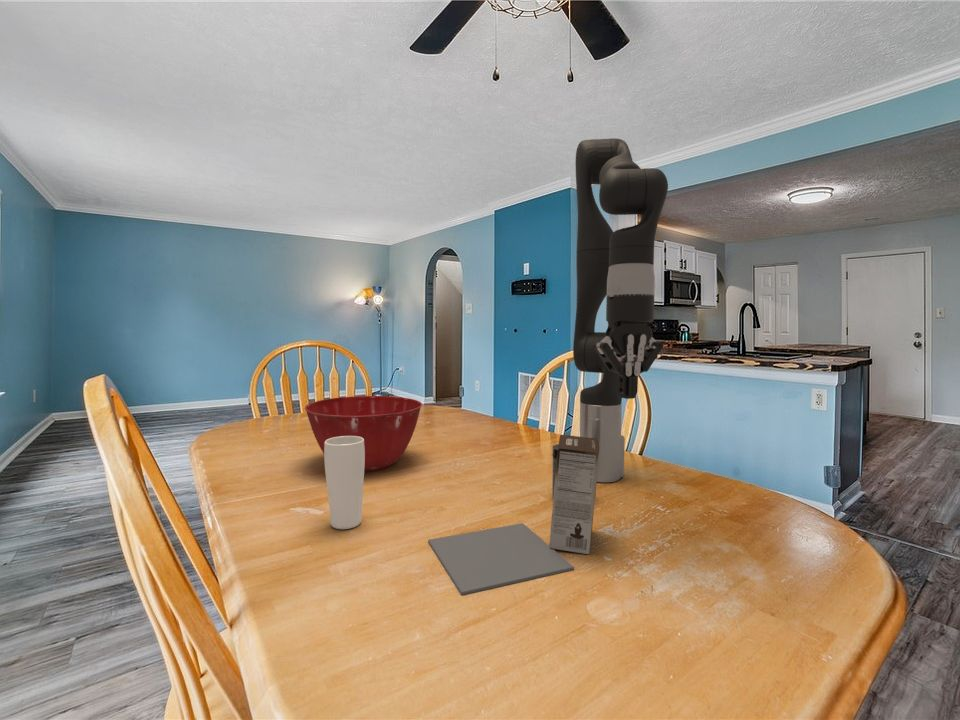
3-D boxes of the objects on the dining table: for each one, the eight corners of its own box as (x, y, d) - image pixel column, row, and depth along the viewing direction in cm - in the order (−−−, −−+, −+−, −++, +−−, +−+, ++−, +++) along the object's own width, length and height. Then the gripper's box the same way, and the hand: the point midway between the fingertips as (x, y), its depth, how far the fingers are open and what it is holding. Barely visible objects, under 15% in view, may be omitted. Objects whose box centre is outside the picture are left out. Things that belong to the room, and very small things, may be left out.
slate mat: (522, 525, 81) (522, 523, 81) (574, 569, 66) (574, 566, 66) (428, 542, 75) (428, 539, 75) (461, 595, 60) (461, 592, 60)
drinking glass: (373, 519, 84) (372, 437, 83) (351, 535, 77) (349, 446, 76) (341, 514, 86) (339, 434, 85) (317, 529, 80) (315, 443, 78)
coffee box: (551, 524, 80) (559, 433, 79) (589, 530, 79) (598, 437, 78) (548, 549, 71) (557, 446, 70) (591, 556, 70) (601, 452, 69)
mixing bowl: (445, 459, 122) (444, 400, 121) (363, 491, 98) (362, 418, 97) (368, 444, 137) (367, 392, 136) (281, 469, 113) (279, 406, 112)
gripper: (646, 296, 83) (643, 393, 84) (583, 294, 78) (581, 397, 79) (678, 293, 76) (675, 399, 77) (611, 290, 71) (609, 403, 72)
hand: (627, 397), depth 78 cm, fingers closed
